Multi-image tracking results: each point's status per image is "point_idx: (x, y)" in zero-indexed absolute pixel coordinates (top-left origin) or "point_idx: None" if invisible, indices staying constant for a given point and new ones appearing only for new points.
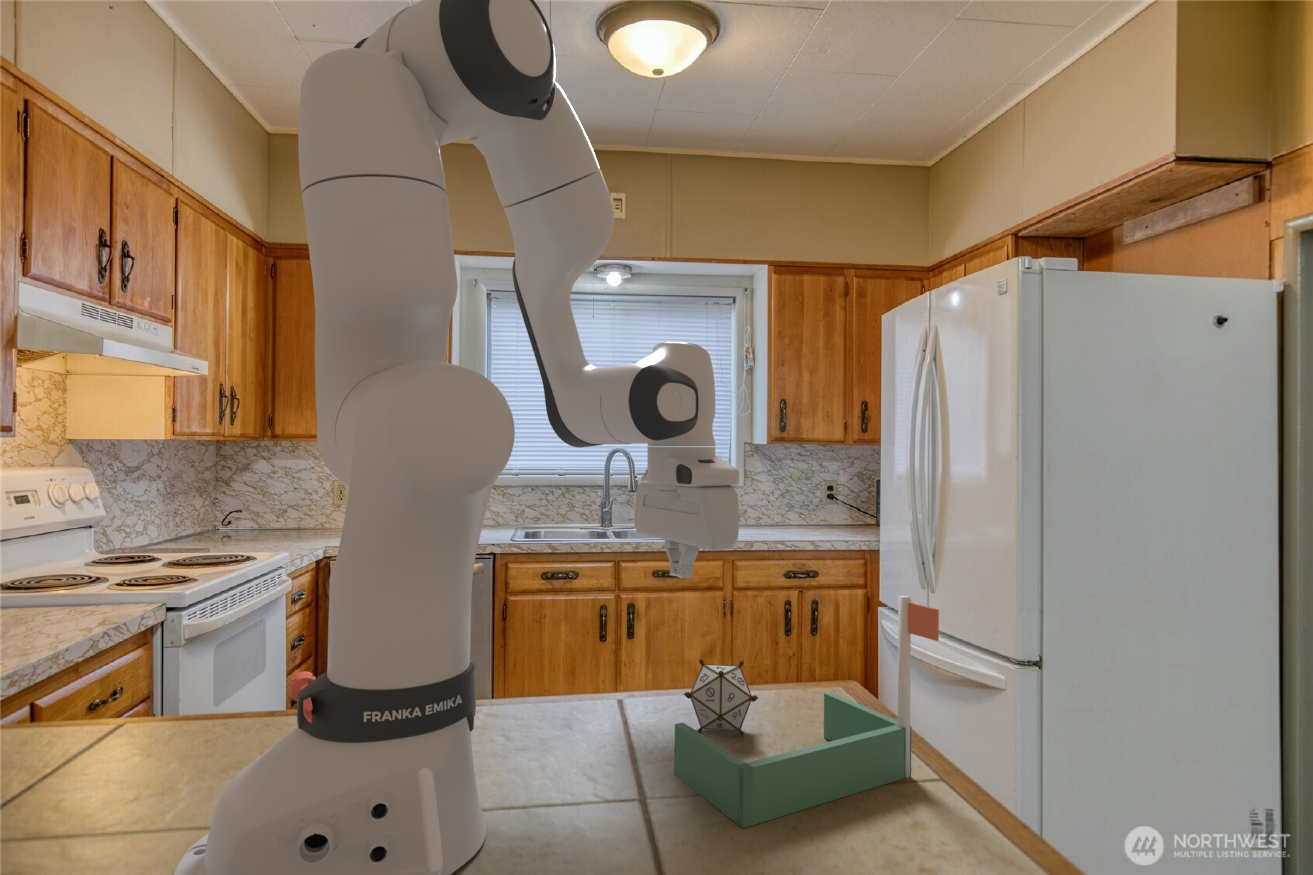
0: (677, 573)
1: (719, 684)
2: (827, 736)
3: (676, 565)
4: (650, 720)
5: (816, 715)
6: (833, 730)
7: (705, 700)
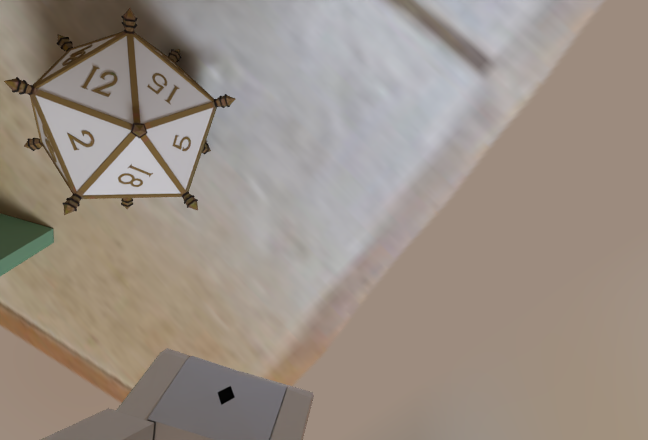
0: (206, 371)
1: (42, 76)
2: (41, 228)
3: (194, 417)
4: (313, 25)
5: (135, 305)
6: (14, 231)
7: (93, 45)
